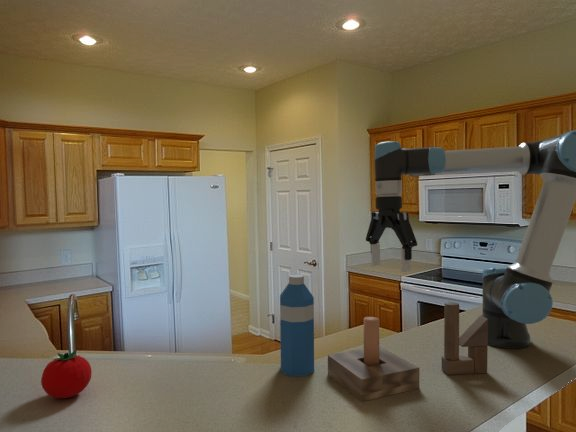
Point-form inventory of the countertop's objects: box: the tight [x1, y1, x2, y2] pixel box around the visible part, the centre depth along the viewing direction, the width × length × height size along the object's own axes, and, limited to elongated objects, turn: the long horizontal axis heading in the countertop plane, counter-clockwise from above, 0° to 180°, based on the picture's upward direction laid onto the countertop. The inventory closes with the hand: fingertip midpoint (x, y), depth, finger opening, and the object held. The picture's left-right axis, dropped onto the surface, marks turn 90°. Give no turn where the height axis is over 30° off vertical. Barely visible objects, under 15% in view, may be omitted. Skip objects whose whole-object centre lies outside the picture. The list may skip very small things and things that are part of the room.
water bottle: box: [279, 274, 315, 377], centre depth 111 cm, size 9×9×25 cm
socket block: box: [327, 345, 420, 402], centre depth 104 cm, size 16×16×5 cm
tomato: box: [40, 350, 93, 399], centre depth 98 cm, size 10×10×10 cm
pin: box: [363, 316, 380, 366], centre depth 104 cm, size 4×4×14 cm
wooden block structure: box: [441, 301, 489, 376], centre depth 109 cm, size 4×11×18 cm, turn 95°
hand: (390, 268), depth 123 cm, fingers open, 13 cm apart
